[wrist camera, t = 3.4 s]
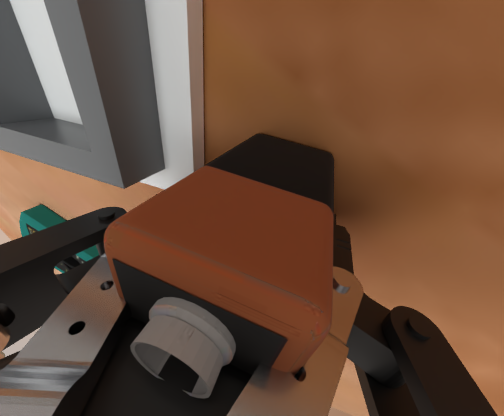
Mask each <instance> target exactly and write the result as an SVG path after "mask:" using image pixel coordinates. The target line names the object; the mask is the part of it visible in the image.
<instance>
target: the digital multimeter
mask: <svg viewBox="0 0 504 416" xmlns="http://www.w3.org/2000/svg"><path fill="white" fill-rule="evenodd" d="M65 221H66V220H65V219H63V218H62V217H60V216H59V215H57V214H56V213H55V212H53V211H52V210H50V209H49V208H47V207H46V206H44V205H38V206H36V207H33V208H31V209H28V210H25V211H23V212H21V216H20V221H19V222H20V229H21V234H22V237H24V236H26V235H29V234H32V233H35V232H37V231H40V230H43V229H46V228H49V227H51V226H54V225H57V224H60V223H62V222H65ZM98 255H99V252H98V250H97V247H96V245H94V246H92V247H90V248H88V249H86V250H83V251H81V252H79V253H77V254H75V255H73V256H71V257H69V258H66V259H64V260H62V261H61V262H59V263H58V264H57V265H56V266H55V268H56V269H57V270H59V271H60V272H62V273H65V272H67V271H69V270H71V269H73V268H75V267H77V266H79V265H80V264H82V263H84V262H86V261H88V260H90V259H92V258H94V257H96V256H98Z"/></svg>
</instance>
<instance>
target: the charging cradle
mask: <svg viewBox="0 0 504 416" xmlns="http://www.w3.org/2000/svg"><path fill="white" fill-rule="evenodd" d="M0 150H3V151H6V152H10V153H13V154H16V155H19V156H22V157H25V158H29V159H32V160H35V161H38V162H41V163H44V164H48V165H51V166H54V167H57V168H60V169H63V170H67V171H70V172H73V173H76V174H79V175H82V176H86V177H89V178H92V179H95V180H98V181H101V182H105V183H108V184H111V185H114V186H117V187H120V188H124V189H125V188H127V187H129V186H131V185H133V184H135V183H137V182H142V183H145V184H148V185H152V186H155V187H158V188H162V189H167V188H168V187H170V186H172V185H173V184H175V183H177V182H178V181H180V180H182V179H183V178H185V177H187V176H188V175H190V174H191V173H193V172H195V171H196V170H198V169H200V168H201V167H203V166H204V94H203V0H0Z"/></svg>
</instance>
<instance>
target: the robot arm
mask: <svg viewBox="0 0 504 416" xmlns="http://www.w3.org/2000/svg"><path fill="white" fill-rule="evenodd" d="M126 213H127V212H126V210H124V209H123V208H120V207H106V208H102V209H98V210H96V211H93V212H90V213H87V214H85V215H82V216H79V217H76V218H73V219H71V220H68V221H65V222H62V223H60V224H57V225H54V226H51V227H49V228H46V229H43V230H40V231H37V232H35V233H32V234H29V235H26V236H24V237H21V238H18V239H15V240H13V241H10V242H7V243H4V244H2V245H0V416H328V414H329V411H330V408H331V405H332V401H333V398H334V395H335V392H336V389H337V386H338V383H339V380H340V377H341V374H342V371H343V368H344V365H345V362H346V358H348V359H350V360H351V361H352V362H354V364H355V368H356V371H357V375H358V378H359V381H360V385H361V388H362V392H363V395H364V398H365V402H366V405H367V408H368V412H369V415H370V416H497V414H496V413H495V411H494V410H493V408H492V407H491V405H490V404H489V402H488V401H487V399H486V398H485V396H484V395H483V393H482V392H481V390H480V389H479V387H478V386H477V384H476V383H475V381H474V380H473V378H472V377H471V376H470V374H469V373H468V371H467V370H466V368H465V367H464V365H463V364H462V362H461V361H460V359H459V358H458V356H457V355H456V353H455V352H454V350H453V349H452V347H451V346H450V344H449V343H448V341H447V340H446V338H445V337H444V335H443V334H442V332H441V331H440V330H439V328H438V327H437V326H436V325H435V324H434V323H433V322H432V321H431V320H430V319H429V318H427V317H426V316H425V315H423V314H422V313H420V312H418V311H416V310H414V309H412V308H409V307H405V306H397V307H395V308H393V309H392V310H391V311H390V310H389V309H387V308H385V307H384V306H382V305H380V304H379V303H377V302H375V301H374V300H372V299H371V298H369V297H368V296H367V295H366V294H365V293H364V292H363V287H362V285H361V283H360V281H359V280H358V279H357V278H356V277H355V276H354V272H353V262H352V252H351V244H350V243H351V242H350V235H349V233H348V232H347V230H346V229H345V227H342V226H339V225H336V214H334V219H333V308H332V324H331V328H330V330H329V333H328V334H327V336H326V338H325V339H324V340H323V342H322V343H321V344H320V346H319V347H318V348H317V349H316V351H315V352H314V353H313V354H312V356H311V357H310V358H309V359H308V361H307V362H306V363H305V364H304V365H303V366H302V367H301V368H300V369H299V371H298V372H297V373H296V374H295V376H294V377H293V374H292V372H283V371H280V370H277V369H275V368H272V367H269V366H267V365H265V364H262V363H260V365H259V366H258V368H257V369H256V371H255V372H254V374H253V375H251V374H249V373H247V372H245V371H243V370H241V369H239V368H236V367H234V366H232V365H230V364H228V365H225V366H222V368H221V370H220V373H219V375H218V378H217V380H216V383H215V385H214V388H213V390H212V393H211V395H210V396H209V397H208V398H204V399H203V398H196V397H192V396H190V395H189V394H187V393H186V392H189V393H192V391H193V389H194V387H195V385H196V383H197V380H198V378H199V375H198V374H197V373H196V372H195V371H194V370H193V369H192V368H191V367H189V366H188V365H187V364H185V363H184V362H183V361H181V360H180V359H179V358H177V357H175V356H174V355H172V354H171V355H170V356H169V358H168V360H167V361H166V363H165V364H164V366H163V368H162V369H161V371H160V373H159V374H158V376H159V377H161V378H162V379H163V380H162V379H159V378H156V377H155V376H154V375H152V374H151V373H150V372H149V371H148V370H146V369H145V368H144V367H143V366H142V365H141V364H140V363H139V362H138V361H137V359H136V358H135V357H134V355H133V354H132V352H131V348H130V345H131V344H132V343H133V341H134V340H135V339H136V337H137V336H138V335H139V334H140V332H141V331H142V330H143V329H144V327H145V326H146V325H147V324H145V323H143V322H141V321H139V320H137V319H134V318H132V317H131V315H132V312H131V310H130V307H129V304H128V302H127V301H126V300H124V298H122V297H120V296H119V295H118V292H117V289H116V286H115V283H114V280H113V277H112V274H111V270H110V267H109V264H108V261H107V257H106V253H105V249H104V234H105V231H106V229H107V227H108V226H109V225H110V224H111V223H112V222H113V221H115V220H116V219H118V218H119V217H121V216H122V215H124V214H126ZM94 245H96V247H97V250H98V252H99V255H98V256H96V257H94V258H92V259H90V260H88V261H86V262H84V263H82V264H80V265H79V266H77V267H75V268H73V269H71V270H69V271H67V272H65V273H62V274H58V275H55V274H54V268H55V266H56V265H57V264H58V263H59V262H61V261H62V260H64V259H66V258H69V257H71V256H73V255H75V254H77V253H79V252H81V251H83V250H86V249H88V248H90V247H92V246H94ZM40 327H41V328H40ZM38 328H40V329H39V330H38V331H37V332H36V334H35V335H34V336H33V337H32V338H31V339H30V341H29V342H28V343H27V344H26V345H25V347H24V348H23V349H22V350H21V351H19V352H16V353H14V354H12V355H9V356H7V357H5V354H4V353H3V352H2V351H3V350H4V349H6V348H7V347H9V346H11V345H12V344H14V343H15V342H17V341H19V340H20V339H22V338H23V337H25V336H27V335H28V334H30V333H31V332H33V331H35V330H36V329H38ZM183 390H184V391H186V392H184V391H183Z"/></svg>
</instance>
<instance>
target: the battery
mask: <svg viewBox="0 0 504 416" xmlns="http://www.w3.org/2000/svg"><path fill="white" fill-rule="evenodd" d="M333 219H334V158H333V156H332V154H331V153H329V152H326V151H322V150H319V149H315V148H311V147H308V146H304V145H301V144H297V143H293V142H290V141H286V140H283V139H279V138H275V137H272V136H268V135H264V134H256V135H254V136H252V137H251V138H249V139H248V140H246V141H244V142H243V143H241V144H239V145H238V146H236V147H234V148H233V149H231V150H229V151H228V152H226V153H224V154H223V155H221V156H219V157H218V158H216V159H215V160H213V161H211V162H210V163H208V164H206V165H205V166H203V167H201V168H200V169H198V170H196V171H195V172H193V173H191V174H190V175H188V176H187V177H185V178H183V179H182V180H180V181H178V182H177V183H175V184H173V185H172V186H170V187H168V188H167V189H165V190H163V191H162V192H160V193H159V194H157V195H155V196H154V197H152V198H150V199H149V200H147V201H145V202H144V203H142V204H140V205H139V206H137V207H135V208H134V209H132V210H131V211H129V212H127V213H126V214H124V215H122V216H121V217H119V218H118V219H116V220H115V221H113V222H112V223H111V224H110V225H109V226H108V227H107V229H106V231H105V234H104V249H105V253H106V257H107V261H108V264H109V267H110V270H111V274H112V277H113V280H114V283H115V286H116V289H117V292H118V295H119V296H120V297H122V298H124V300H126V301H127V302H128V304H129V307H130V310H131V312H132V315H131V317H132V318H134V319H137V320H139V321H141V322H143V323H145V324H147V325H146V326H145V327H144V329H143V330H142V331H141V332H140V334H139V335H138V336H137V337H136V339H135V340H134V341H133V343H132V344H131V345H130V348H131V352H132V354H133V355H134V357H135V358H136V359H137V361H138V362H139V363H140V364H141V365H142V366H143V367H144V368H145V369H146V370H148V371H149V372H150V373H151V374H152V375H154V376H155V377H156V378H159V379H162V378H161V377H159V376H158V374H159V373H160V371H161V369H162V368H163V366H164V364H165V363H166V361H167V360H168V358H169V356H170V355H171V354H172V355H174V356H175V357H177V358H179V359H180V360H181V361H183V362H184V363H185V364H187V365H188V366H189V367H191V368H192V369H193V370H194V371H195V372H196V373H197V374H198V375H199V378H198V380H197V383H196V385H195V387H194V389H193V391H192V393H189V392H186V391H184V390H183V391H184V392H186V393H187V394H189V395H190V396H192V397H196V398H203V399H204V398H208V397H209V396H210V395H211V393H212V390H213V388H214V385H215V383H216V380H217V378H218V375H219V373H220V370H221V368H222V366H225V365H228V364H230V365H232V366H234V367H236V368H239V369H241V370H243V371H245V372H247V373H249V374H251V375H253V374H254V372H255V371H256V369H257V368H258V366H259V365H260V363H262V364H265V365H267V366H269V367H272V368H275V369H277V370H280V371H283V372H292V374H293V377H294V376H295V374H296V373H297V372H298V371H299V369H300V368H301V367H302V366H303V365H304V364H305V363H306V362H307V361H308V359H309V358H310V357H311V356H312V354H313V353H314V352H315V351H316V349H317V348H318V347H319V346H320V344H321V343H322V342H323V340H324V339H325V338H326V336H327V334H328V333H329V330H330V328H331V324H332V308H333ZM162 380H163V379H162Z"/></svg>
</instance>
